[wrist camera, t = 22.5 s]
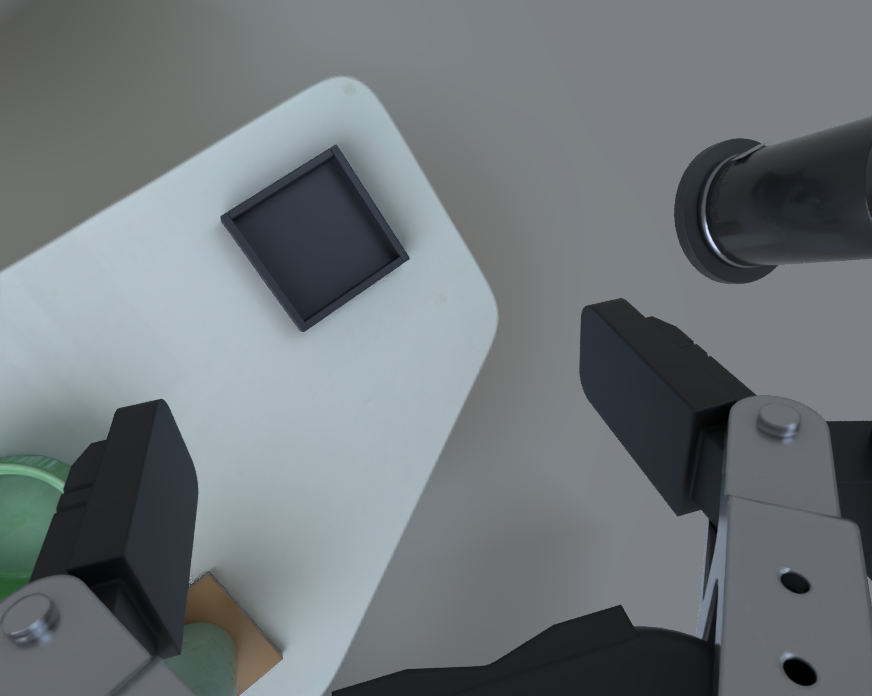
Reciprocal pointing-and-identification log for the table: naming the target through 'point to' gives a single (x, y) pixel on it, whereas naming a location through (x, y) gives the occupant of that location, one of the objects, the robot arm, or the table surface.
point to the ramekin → (26, 514)
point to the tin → (207, 660)
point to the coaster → (232, 629)
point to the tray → (315, 238)
